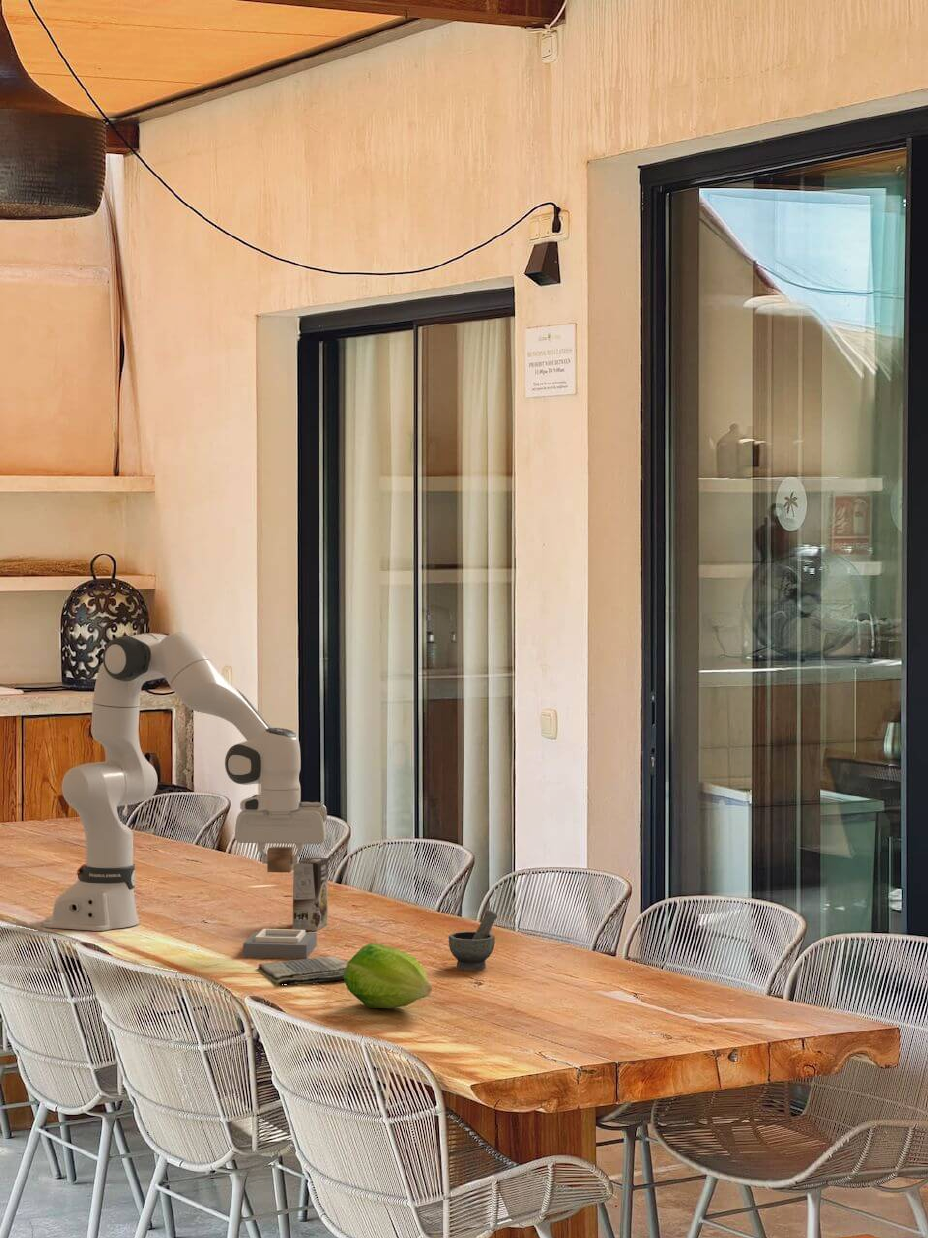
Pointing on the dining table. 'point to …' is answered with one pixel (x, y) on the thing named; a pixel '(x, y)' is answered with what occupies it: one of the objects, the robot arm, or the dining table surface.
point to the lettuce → (386, 977)
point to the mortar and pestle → (474, 945)
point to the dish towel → (305, 971)
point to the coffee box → (310, 894)
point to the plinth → (280, 944)
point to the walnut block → (280, 859)
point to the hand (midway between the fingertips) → (280, 863)
